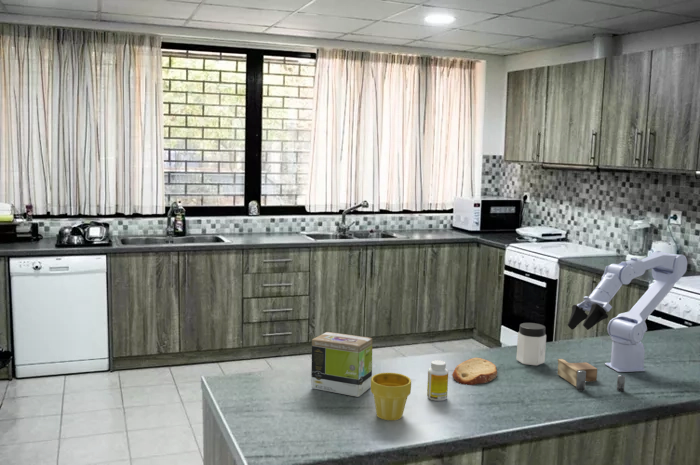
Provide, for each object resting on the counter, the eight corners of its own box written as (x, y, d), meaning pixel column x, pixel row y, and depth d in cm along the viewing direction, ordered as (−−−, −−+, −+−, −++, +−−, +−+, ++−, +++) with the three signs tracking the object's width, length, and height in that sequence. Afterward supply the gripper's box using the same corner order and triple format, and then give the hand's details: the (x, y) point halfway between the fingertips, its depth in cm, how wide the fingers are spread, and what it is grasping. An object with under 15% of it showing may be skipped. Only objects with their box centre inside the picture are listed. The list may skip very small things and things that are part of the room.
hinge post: (582, 387, 193) (583, 369, 192) (586, 390, 190) (587, 372, 190) (574, 388, 192) (575, 370, 192) (578, 391, 190) (580, 372, 189)
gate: (580, 386, 193) (581, 370, 192) (575, 386, 193) (576, 371, 192) (561, 373, 204) (562, 358, 203) (556, 374, 203) (557, 359, 203)
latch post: (621, 388, 193) (622, 374, 192) (625, 391, 191) (626, 376, 190) (615, 389, 192) (616, 374, 192) (619, 391, 190) (620, 377, 190)
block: (585, 374, 205) (586, 362, 204) (596, 381, 199) (597, 368, 199) (568, 375, 204) (569, 363, 203) (578, 382, 198) (579, 369, 197)
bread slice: (485, 363, 214) (485, 352, 214) (515, 382, 198) (515, 370, 197) (434, 367, 209) (435, 356, 209) (461, 387, 192) (461, 375, 192)
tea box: (372, 386, 190) (373, 337, 188) (358, 398, 181) (359, 346, 179) (325, 378, 196) (326, 330, 194) (309, 389, 187) (310, 338, 185)
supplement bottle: (451, 400, 181) (452, 364, 180) (434, 403, 178) (435, 366, 177) (439, 393, 186) (441, 358, 185) (423, 396, 183) (424, 360, 182)
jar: (534, 367, 210) (536, 331, 209) (512, 361, 216) (514, 325, 214) (548, 361, 216) (551, 326, 215) (526, 355, 222) (528, 321, 221)
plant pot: (416, 421, 166) (417, 384, 165) (377, 425, 163) (378, 387, 162) (401, 406, 176) (402, 370, 175) (364, 409, 173) (365, 373, 172)
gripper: (579, 286, 209) (555, 318, 205) (609, 284, 195) (583, 318, 191) (593, 302, 209) (569, 333, 205) (624, 301, 196) (599, 334, 192)
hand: (577, 327), depth 198 cm, fingers open, 7 cm apart
